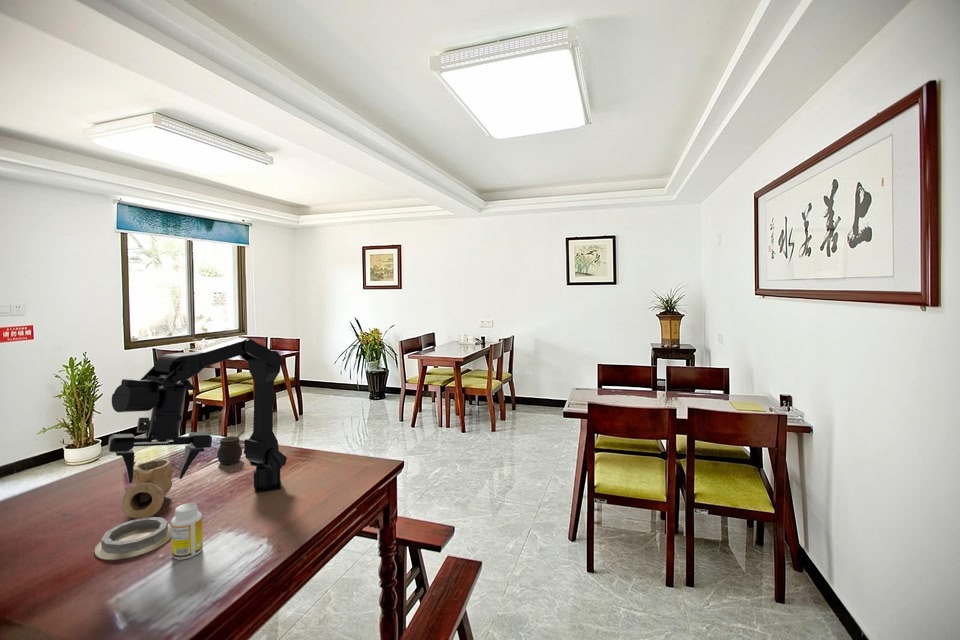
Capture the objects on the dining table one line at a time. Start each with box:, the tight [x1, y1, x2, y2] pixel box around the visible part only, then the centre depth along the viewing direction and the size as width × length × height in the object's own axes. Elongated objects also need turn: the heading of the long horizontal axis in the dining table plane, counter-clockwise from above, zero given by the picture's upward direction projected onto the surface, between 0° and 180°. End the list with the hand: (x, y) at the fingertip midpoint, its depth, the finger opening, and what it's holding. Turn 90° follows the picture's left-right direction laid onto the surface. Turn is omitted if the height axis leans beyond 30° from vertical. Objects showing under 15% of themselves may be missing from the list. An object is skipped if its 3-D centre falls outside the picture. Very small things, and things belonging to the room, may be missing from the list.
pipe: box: [121, 459, 173, 519], centre depth 116 cm, size 9×16×10 cm, turn 26°
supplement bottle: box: [170, 502, 204, 561], centre depth 95 cm, size 6×6×10 cm
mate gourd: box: [216, 430, 244, 466], centre depth 146 cm, size 7×8×10 cm
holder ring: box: [94, 516, 172, 561], centre depth 100 cm, size 14×14×3 cm
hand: (156, 480), depth 99 cm, fingers open, 9 cm apart
